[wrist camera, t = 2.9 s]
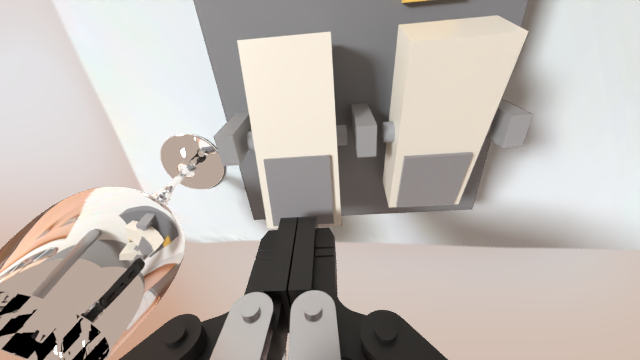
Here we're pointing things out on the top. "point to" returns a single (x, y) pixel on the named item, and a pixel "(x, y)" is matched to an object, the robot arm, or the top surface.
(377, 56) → the switch unit
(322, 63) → the block
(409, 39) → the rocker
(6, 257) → the wineglass
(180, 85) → the top surface
